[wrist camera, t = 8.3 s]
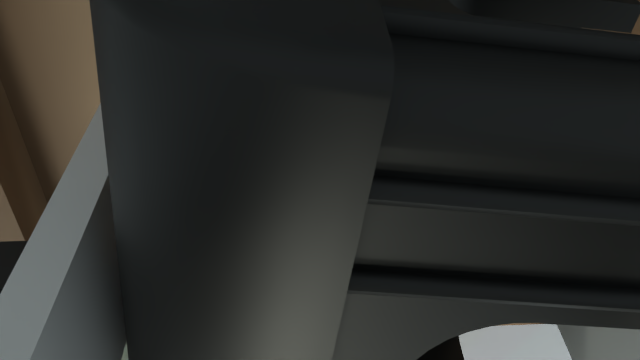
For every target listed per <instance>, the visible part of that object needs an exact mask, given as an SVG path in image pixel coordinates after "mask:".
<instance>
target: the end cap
mask: <svg viewBox="0 0 640 360" xmlns="http://www.w3.org/2000/svg"><path fill="white" fill-rule="evenodd" d="M89 1H90V10H91V19H92V28H93V38H94V47H95V56H96V65H97V74H98V84H99V93H100V102H101V111H102V120H103V130H104V139H105V148H106V157H107V166H108V176H109V185H110V194H111V203H112V212H113V222H114V231H115V240H116V249H117V258H118V268H119V277H120V286H121V295H122V304H123V314H124V323H125V332H126V341H127V350H128V360H464V357H463V354H462V350H461V346H460V342H459V335H461V334H464V333H466V332H469V331H473V330H477V329H481V328H485V327H489V326H496V325H503V324H511V323H543V324H558V325H574V326H590V327H606V328H622V329H638V330H640V35H637V34H628V33H631V32H632V30H633V28H634V26H635V23H636V21H637V19H638V17H639V15H640V2H639V1H638V0H89ZM585 28H590V29H585ZM593 29H599V30H593ZM602 30H608V31H602ZM611 31H616V32H611ZM619 32H625V33H619Z"/></svg>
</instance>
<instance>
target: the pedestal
mask: <svg viewBox="0 0 640 360" xmlns="http://www.w3.org/2000/svg"><path fill="white" fill-rule="evenodd" d="M638 1H639V2H640V0H638ZM585 29H590V28H585ZM593 30H599V29H593ZM602 31H608V30H602ZM611 32H616V31H611ZM619 33H625V32H619ZM628 34H637V35H640V15H639V17H638V19H637V21H636V23H635V26H634V28H633V30H632V32H631V33H628ZM100 103H101V102H100V93H99V84H98V74H97V65H96V56H95V47H94V38H93V28H92V19H91V10H90V1H89V0H0V242H1V241H28V240H29V238H30V236H31V234H32V233H33V231H34V229H35V227H36V225H37V223H38V221H39V219H40V217H41V215H42V213H43V212H44V210H45V208H46V206H47V204H48V202H49V200H50V198H51V196H52V194H53V193H54V191H55V189H56V187H57V185H58V183H59V181H60V179H61V177H62V175H63V174H64V172H65V170H66V168H67V166H68V164H69V162H70V160H71V158H72V156H73V154H74V153H75V151H76V149H77V147H78V145H79V143H80V141H81V139H82V137H83V135H84V134H85V132H86V130H87V128H88V126H89V124H90V122H91V120H92V118H93V116H94V114H95V113H96V111H97V109H98V107H99V105H100ZM526 324H543V323H511V324H503V325H526ZM496 326H498V325H496Z"/></svg>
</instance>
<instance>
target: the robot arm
mask: <svg viewBox="0 0 640 360" xmlns="http://www.w3.org/2000/svg"><path fill="white" fill-rule="evenodd" d="M557 326H558V328H559V330H560V332H561V335H562V337H563V339H564V342H565V344H566V346H567V348H568V351H569V353H570V355H571V358H572V360H640V330H638V329H622V328H606V327H590V326H574V325H558V324H557ZM125 344H126V332H125V323H124V314H123V304H122V295H121V286H120V277H119V268H118V258H117V249H116V240H115V231H114V222H113V212H112V203H111V194H110V185H109V176H108V166H107V157H106V148H105V139H104V130H103V120H102V111H101V103H100V105H99V107H98V109H97V111H96V113H95V114H94V116H93V118H92V120H91V122H90V124H89V126H88V128H87V130H86V132H85V134H84V135H83V137H82V139H81V141H80V143H79V145H78V147H77V149H76V151H75V153H74V154H73V156H72V158H71V160H70V162H69V164H68V166H67V168H66V170H65V172H64V174H63V175H62V177H61V179H60V181H59V183H58V185H57V187H56V189H55V191H54V193H53V194H52V196H51V198H50V200H49V202H48V204H47V206H46V208H45V210H44V212H43V213H42V215H41V217H40V219H39V221H38V223H37V225H36V227H35V229H34V231H33V233H32V234H31V236H30V238H29V240H28V241H1V242H0V360H121V359H122V355H123V351H124V348H125Z"/></svg>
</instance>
